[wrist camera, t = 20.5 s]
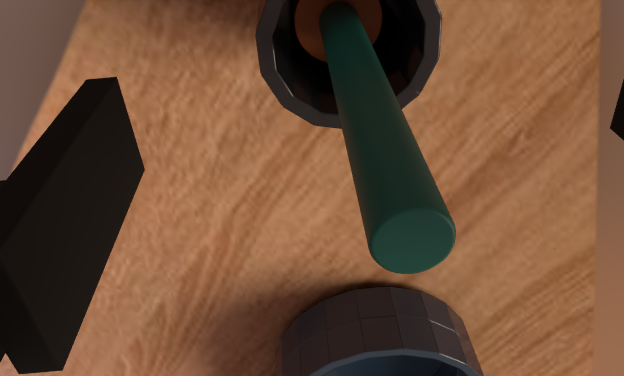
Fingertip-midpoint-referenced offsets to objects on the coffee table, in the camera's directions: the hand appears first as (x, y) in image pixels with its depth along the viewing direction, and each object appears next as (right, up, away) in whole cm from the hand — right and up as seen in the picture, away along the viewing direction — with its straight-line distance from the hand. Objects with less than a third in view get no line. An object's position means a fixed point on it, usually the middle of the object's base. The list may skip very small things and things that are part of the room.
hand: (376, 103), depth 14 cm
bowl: (+3, -15, +27) cm, 31 cm away
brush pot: (-1, +8, +12) cm, 14 cm away
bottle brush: (-1, +7, +12) cm, 14 cm away
